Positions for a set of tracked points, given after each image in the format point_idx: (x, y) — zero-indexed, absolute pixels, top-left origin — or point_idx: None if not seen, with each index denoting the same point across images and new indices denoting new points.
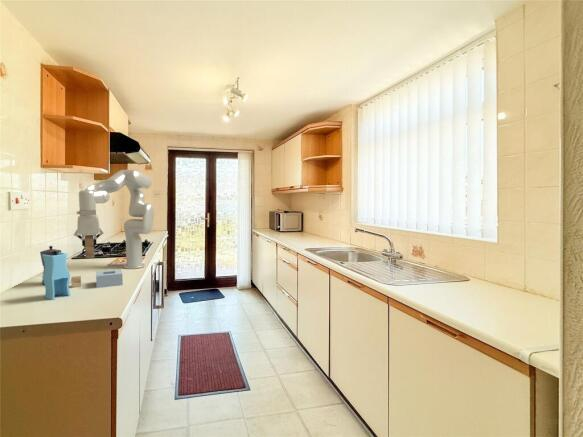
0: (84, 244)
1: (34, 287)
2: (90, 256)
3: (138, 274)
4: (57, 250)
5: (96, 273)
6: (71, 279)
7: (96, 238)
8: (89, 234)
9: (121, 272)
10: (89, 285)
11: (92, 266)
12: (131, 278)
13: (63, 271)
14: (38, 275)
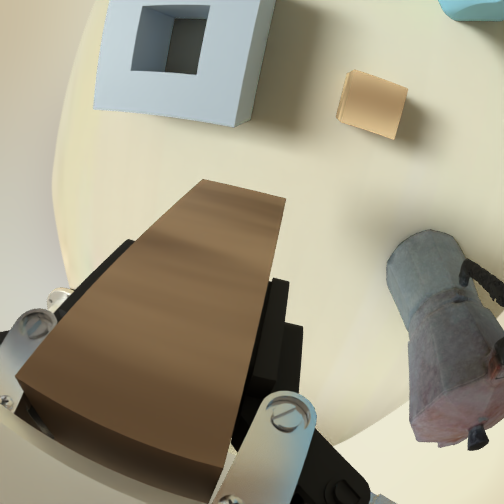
0: (271, 310)
1: (495, 238)
2: (235, 191)
3: (59, 177)
4: (459, 400)
5: (245, 56)
6: (404, 88)
7: (28, 324)
8: (58, 443)
9: (108, 11)
10: (298, 72)
11: None
12: (88, 109)
13: None
14: (392, 406)
